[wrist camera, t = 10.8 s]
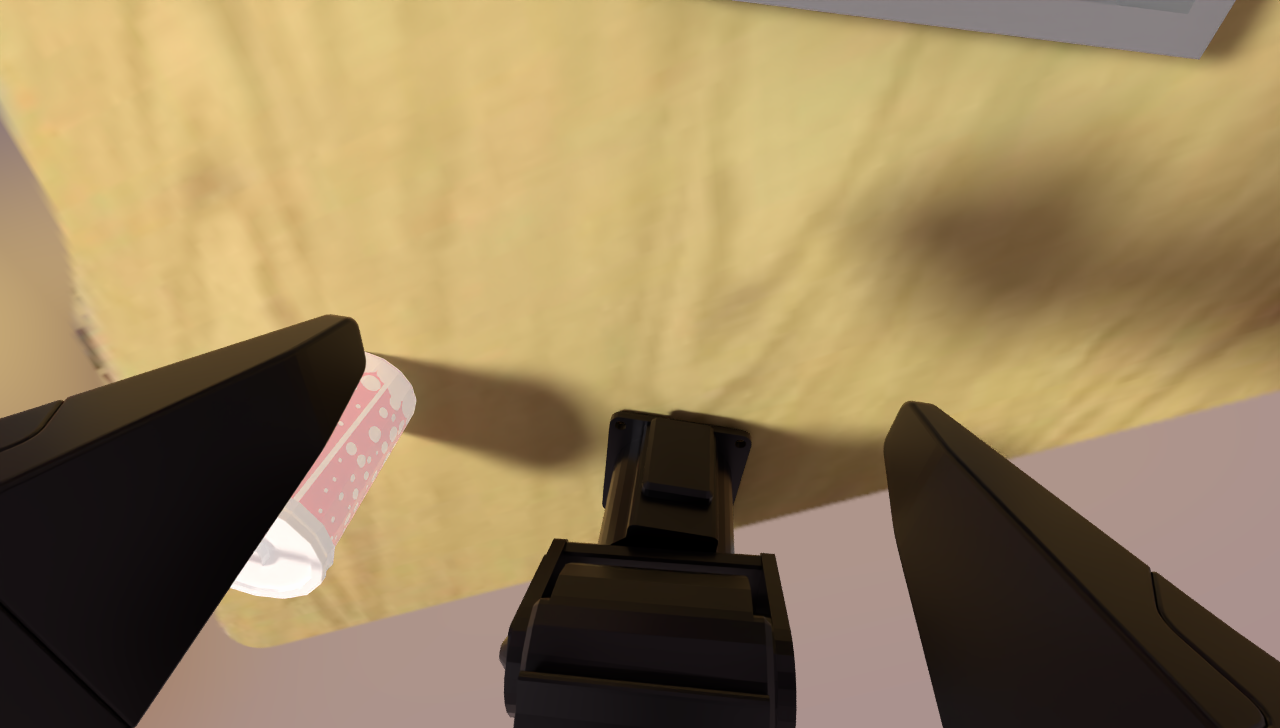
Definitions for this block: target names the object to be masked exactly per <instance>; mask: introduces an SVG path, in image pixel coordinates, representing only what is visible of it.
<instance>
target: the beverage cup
mask: <svg viewBox="0 0 1280 728" xmlns="http://www.w3.org/2000/svg"><path fill="white" fill-rule="evenodd" d="M364 352H365V351H364ZM365 356H366V368H365V372H364V374H363V376H362V378H361V380H360V382H359V384H358V386H357V388H356V389H355V391H354V393H353V395H352V397H351V399H350V401H349V403H348V405H347V407H346V409H345V411H344V412H343V414H342V416H341V418H340V420H339V422H338V424H337V426H336V428H335V430H334V432H333V433H332V435H331V437H330V439H329V441H328V442H327V444H326V446H325V447H324V449H323V451H322V452H321V454H320V455H319V457H318V458H317V460H316V461H315V463H314V464H313V466H312V467H311V469H310V470H309V472H308V473H307V475H306V476H305V478H304V479H303V481H302V482H301V484H300V485H299V486H298V488H297V489H296V491H295V492H294V494H293V495H292V497H291V498H290V500H289V501H288V503H287V504H286V506H285V507H284V509H283V510H282V512H281V513H280V515H279V516H278V517H277V519H276V520H275V522H274V523H273V525H272V526H271V528H270V529H269V531H268V532H267V534H266V535H265V537H264V538H263V540H262V541H261V543H260V544H259V546H258V547H257V549H256V550H255V551H254V553H253V554H252V556H251V557H250V559H249V560H248V562H247V563H246V565H245V566H244V568H243V569H242V571H241V572H240V574H239V575H238V577H237V578H236V580H235V581H234V583H233V584H232V585H231V587H230V588H232V589H236V590H239V591H242V592H245V593H249V594H252V595H255V596H264V597H274V598H283V599H285V598H291V597H297V596H302V595H308V594H309V593H310V592H311V591H312V590H314V589H315V588H316V587H317V586H319V585H320V584H321V583H322V581H323V580H324V578H325V577H326V570H327V569H328V568H329V567H330V566H331V565H332V564H333V559H334V550H335V546H336V545H337V543H338V541H339V539H340V538H341V536H342V534H343V533H344V531H345V529H346V528H347V526H348V524H349V522H350V521H351V519H352V517H353V516H354V514H355V512H356V511H357V509H358V507H359V506H360V504H361V502H362V500H363V499H364V497H365V495H366V494H367V492H368V490H369V489H370V487H371V485H372V483H373V482H374V480H375V478H376V477H377V475H378V473H379V472H380V470H381V468H382V467H383V465H384V463H385V461H386V460H387V458H388V456H389V455H390V453H391V451H392V450H393V448H394V446H395V444H396V443H397V441H398V439H399V438H400V436H401V434H402V433H403V431H404V429H405V428H406V426H407V424H408V422H409V421H410V419H411V417H412V416H413V414H414V411H415V406H416V401H417V400H416V397H415V394H414V390H413V387H412V385H411V384H410V382H409V381H408V380H407V378H406V377H405V376H404V375H403V373H402V372H401V371H400V370H399V369H397V368H396V367H395V366H393V365H392V364H390V363H389V362H388V361H386V360H385V359H383V358H381V357H378V356H375V355H373V354H370V353H367V352H365Z"/></svg>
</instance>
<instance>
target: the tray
mask: <svg viewBox="0 0 1280 728" xmlns="http://www.w3.org/2000/svg"><path fill="white" fill-rule="evenodd" d="M734 1H742V2H750V3H758V4H766V5H774V6H782V7H789V8H797V9H805V10H813V11H821V12H829V13H837V14H845V15H852V16H860V17H868V18H876V19H884V20H892V21H900V22H908V23H916V24H923V25H931V26H939V27H947V28H955V29H963V30H971V31H979V32H987V33H994V34H1002V35H1010V36H1018V37H1026V38H1034V39H1042V40H1050V41H1058V42H1065V43H1073V44H1081V45H1089V46H1097V47H1105V48H1113V49H1121V50H1128V51H1136V52H1144V53H1152V54H1160V55H1168V56H1176V57H1184V58H1192V59H1200V58H1201V56H1202V54H1203V53H1204V51H1205V50H1206V48H1207V46H1208V45H1209V43H1210V41H1211V40H1212V38H1213V37H1214V35H1215V33H1216V32H1217V30H1218V28H1219V27H1220V25H1221V24H1222V22H1223V20H1224V19H1225V17H1226V15H1227V14H1228V12H1229V11H1230V9H1231V7H1232V6H1233V4H1234V2H1235V1H1236V0H734Z"/></svg>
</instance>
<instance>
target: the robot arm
mask: <svg viewBox="0 0 1280 728" xmlns="http://www.w3.org/2000/svg"><path fill="white" fill-rule="evenodd" d="M365 368H366V356H365V352H364V347H363V343H362V339H361V335H360V330H359V327H358V324H357V322H356V321H355V320H354V319H353V318H351V317H345V316H338V315H331V314H330V315H324V316H321V317H317V318H314V319H311V320H308V321H305V322H302V323H299V324H296V325H292V326H289V327H286V328H283V329H280V330H277V331H274V332H271V333H267V334H264V335H261V336H258V337H255V338H252V339H249V340H246V341H242V342H239V343H236V344H233V345H230V346H227V347H224V348H221V349H217V350H214V351H211V352H208V353H205V354H202V355H199V356H196V357H192V358H189V359H186V360H183V361H180V362H177V363H174V364H171V365H167V366H164V367H161V368H158V369H155V370H152V371H149V372H145V373H142V374H139V375H136V376H133V377H130V378H127V379H124V380H120V381H117V382H114V383H111V384H108V385H105V386H102V387H99V388H95V389H93V390H89V391H86V392H83V393H80V394H77V395H74V396H70V397H68V398H67V399H66V400H65V401H63V400H58V401H54V402H51V403H48V404H45V405H42V406H39V407H36V408H33V409H29V410H26V411H23V412H20V413H17V414H13V415H10V416H7V417H4V418H0V728H135V727H136V726H137V724H138V723H139V721H140V720H141V718H142V717H143V715H144V714H145V712H146V711H147V710H148V708H149V707H150V705H151V703H152V702H153V701H154V699H155V698H156V696H157V695H158V693H159V692H160V690H161V689H162V687H163V686H164V684H165V683H166V681H167V680H168V679H169V677H170V676H171V674H172V673H173V671H174V670H175V668H176V667H177V665H178V664H179V662H180V661H181V659H182V658H183V656H184V655H185V653H186V652H187V650H188V649H189V647H190V646H191V644H192V643H193V642H194V640H195V639H196V637H197V636H198V634H199V633H200V631H201V630H202V628H203V627H204V625H205V624H206V622H207V621H208V619H209V618H210V616H211V615H212V614H213V612H214V611H215V609H216V608H217V606H218V605H219V603H220V602H221V600H222V599H223V597H224V596H225V594H226V593H227V591H228V590H229V588H230V587H231V585H232V584H233V583H234V581H235V580H236V578H237V577H238V575H239V574H240V572H241V571H242V569H243V568H244V566H245V565H246V563H247V562H248V560H249V559H250V557H251V556H252V554H253V553H254V551H255V550H256V549H257V547H258V546H259V544H260V543H261V541H262V540H263V538H264V537H265V535H266V534H267V532H268V531H269V529H270V528H271V526H272V525H273V523H274V522H275V520H276V519H277V517H278V516H279V515H280V513H281V512H282V510H283V509H284V507H285V506H286V504H287V503H288V501H289V500H290V498H291V497H292V495H293V494H294V492H295V491H296V489H297V488H298V486H299V485H300V484H301V482H302V481H303V479H304V478H305V476H306V475H307V473H308V472H309V470H310V469H311V467H312V466H313V464H314V463H315V461H316V460H317V458H318V457H319V455H320V454H321V452H322V451H323V449H324V447H325V446H326V444H327V442H328V441H329V439H330V437H331V435H332V433H333V432H334V430H335V428H336V426H337V424H338V422H339V420H340V418H341V416H342V414H343V412H344V411H345V409H346V407H347V405H348V403H349V401H350V399H351V397H352V395H353V393H354V391H355V389H356V388H357V386H358V384H359V382H360V380H361V378H362V376H363V374H364V372H365ZM618 421H621V422H624V423H625V424H620V423H618ZM737 440H743V442H737ZM750 449H751V436H750V434H749V433H748V432H747V431H744V430H739V429H733V428H726V427H720V426H713V425H707V424H700V423H694V422H687V421H681V420H674V419H667V418H661V417H654V416H648V415H641V414H635V413H628V412H616V413H614V414H613V415H612V417H611V421H610V426H609V437H608V447H607V458H606V469H605V479H604V490H603V501H602V505H603V507H604V508H605V512H604V517H603V522H602V527H601V531H600V536H599V541H598V544H592V543H578V542H568V539H555V538H554V540H553V542H552V544H551V546H550V548H549V550H548V552H547V554H546V555H544V557H543V559H542V561H541V563H540V565H539V567H538V569H537V571H536V573H535V575H534V577H533V579H532V581H531V583H530V586H529V588H528V590H527V592H526V594H525V596H524V598H523V600H522V602H521V604H520V606H519V608H518V610H517V612H516V615H515V617H514V619H513V621H512V623H511V625H510V628H509V632H508V636H507V637H506V639H505V640H504V641H503V643H502V645H501V648H500V655H499V659H500V662H501V663H502V665H503V667H504V669H505V677H504V700H505V707H506V711H507V713H508V715H509V716H510V717H514V718H515V719H514V728H795V726H796V673H795V660H794V651H793V642H792V636H791V630H790V626H789V620H788V615H787V611H786V606H785V601H784V596H783V591H782V586H781V581H780V577H779V572H778V567H777V562H776V558H775V554H767V553H760V555H745V554H734V530H733V504H734V501H735V498H736V494H737V491H738V488H739V485H740V481H741V478H742V475H743V471H744V468H745V465H746V462H747V458H748V455H749V452H750ZM884 459H885V467H886V474H887V482H888V490H889V498H890V506H891V513H892V521H893V528H894V534H895V539H896V543H897V547H898V551H899V555H900V560H901V563H902V568H903V572H904V576H905V579H906V583H907V587H908V591H909V595H910V599H911V603H912V607H913V611H914V615H915V619H916V623H917V627H918V631H919V634H920V639H921V643H922V646H923V651H924V654H925V659H926V662H927V666H928V670H929V674H930V678H931V682H932V686H933V690H934V694H935V698H936V702H937V706H938V710H939V714H940V718H941V722H942V726H943V728H1280V662H1279V661H1278V660H1276V659H1275V658H1274V657H1272V656H1270V655H1269V654H1268V653H1266V652H1265V651H1264V650H1262V649H1261V648H1259V647H1258V646H1256V645H1255V644H1254V643H1252V642H1251V641H1249V640H1248V639H1246V638H1245V637H1244V636H1242V635H1241V634H1239V633H1238V632H1237V631H1235V630H1234V629H1232V628H1231V627H1230V626H1228V625H1227V624H1226V623H1224V622H1223V621H1222V620H1220V619H1219V618H1217V617H1216V616H1215V615H1213V614H1212V613H1211V612H1209V611H1208V610H1206V609H1205V608H1204V607H1202V606H1201V605H1200V604H1198V603H1197V602H1196V601H1194V600H1193V599H1191V598H1190V597H1189V596H1188V595H1186V594H1185V593H1184V592H1182V591H1181V590H1179V589H1178V588H1177V587H1176V586H1174V585H1173V584H1172V583H1170V582H1169V581H1168V580H1166V579H1165V578H1164V577H1162V576H1161V575H1160V574H1158V573H1157V572H1151V570H1150V567H1149V566H1148V565H1146V564H1145V563H1144V562H1142V561H1141V560H1140V559H1138V558H1137V557H1136V556H1134V555H1133V554H1132V553H1130V552H1129V551H1128V550H1126V549H1125V548H1124V547H1122V546H1121V545H1120V544H1118V543H1117V542H1116V541H1114V540H1113V539H1112V538H1110V537H1109V536H1108V535H1106V534H1105V533H1104V532H1103V531H1101V530H1100V529H1099V528H1097V527H1096V526H1095V525H1093V524H1092V523H1091V522H1089V521H1088V520H1087V519H1085V518H1084V517H1083V516H1081V515H1080V514H1079V513H1077V512H1076V511H1075V510H1073V509H1072V508H1071V507H1069V506H1068V505H1067V504H1065V503H1064V502H1063V501H1061V500H1060V499H1059V498H1057V497H1056V496H1055V495H1053V494H1052V493H1051V492H1049V491H1048V490H1047V489H1045V488H1044V487H1043V486H1042V485H1040V484H1039V483H1037V482H1036V481H1035V480H1034V479H1032V478H1031V477H1029V476H1028V475H1027V474H1026V473H1024V472H1023V471H1021V470H1020V469H1019V468H1018V467H1016V466H1015V465H1014V464H1012V463H1011V462H1010V461H1008V460H1007V459H1006V458H1004V457H1003V456H1002V455H1000V454H999V453H998V452H996V451H995V450H994V449H992V448H991V447H990V446H989V445H987V444H986V443H985V442H983V441H982V440H981V439H979V438H978V437H977V436H975V435H974V434H973V433H971V432H970V431H969V430H967V429H966V428H965V427H963V426H962V425H961V424H959V423H958V422H957V421H955V420H954V419H953V418H951V417H950V416H949V415H947V414H946V413H945V412H943V411H942V410H941V409H939V408H938V407H937V406H935V405H933V404H930V403H923V402H916V401H908V402H905V403H904V404H903V405H902V407H901V408H900V410H899V412H898V414H897V416H896V418H895V420H894V422H893V424H892V426H891V428H890V430H889V432H888V434H887V436H886V439H885V442H884Z"/></svg>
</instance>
